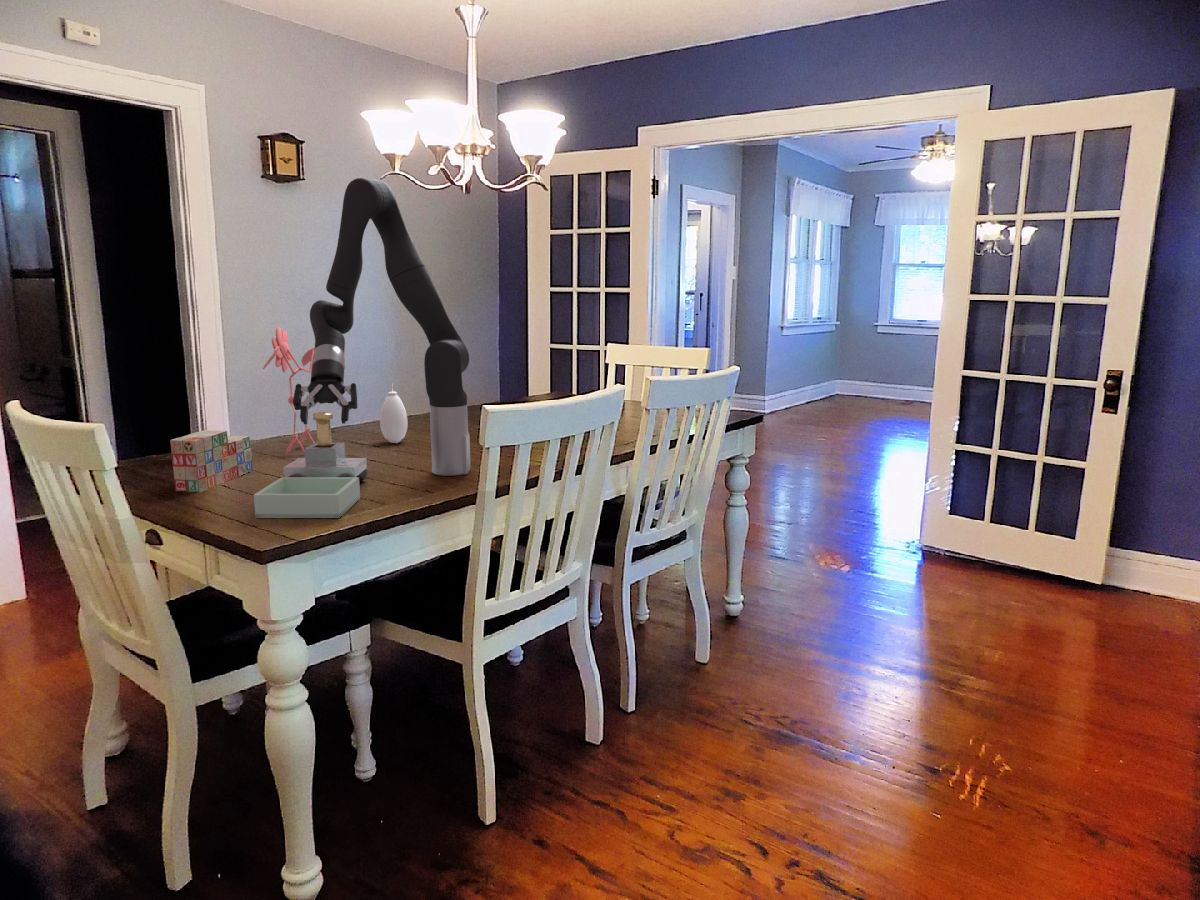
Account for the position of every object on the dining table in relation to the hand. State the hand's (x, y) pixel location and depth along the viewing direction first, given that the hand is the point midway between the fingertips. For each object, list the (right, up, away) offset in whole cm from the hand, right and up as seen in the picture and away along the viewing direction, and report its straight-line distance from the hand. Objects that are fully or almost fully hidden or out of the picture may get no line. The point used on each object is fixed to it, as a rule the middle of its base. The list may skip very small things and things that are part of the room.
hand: (324, 422), depth 188 cm
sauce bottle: (+3, -5, +54) cm, 54 cm away
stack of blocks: (-29, -14, +7) cm, 33 cm away
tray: (+3, -19, -16) cm, 25 cm away
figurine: (-24, -7, +41) cm, 48 cm away
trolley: (0, -15, +1) cm, 15 cm away
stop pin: (0, -9, 0) cm, 9 cm away
